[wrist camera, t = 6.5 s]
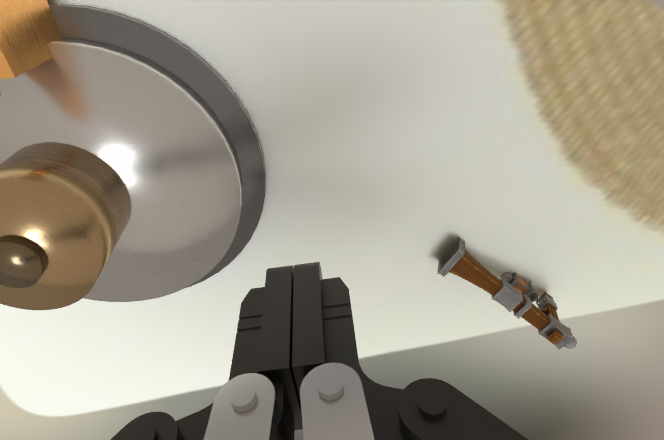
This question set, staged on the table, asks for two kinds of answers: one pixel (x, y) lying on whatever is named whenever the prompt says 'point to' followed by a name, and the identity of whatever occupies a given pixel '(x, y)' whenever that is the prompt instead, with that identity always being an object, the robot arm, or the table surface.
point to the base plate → (200, 79)
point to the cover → (57, 224)
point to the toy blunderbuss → (510, 295)
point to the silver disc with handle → (125, 147)
